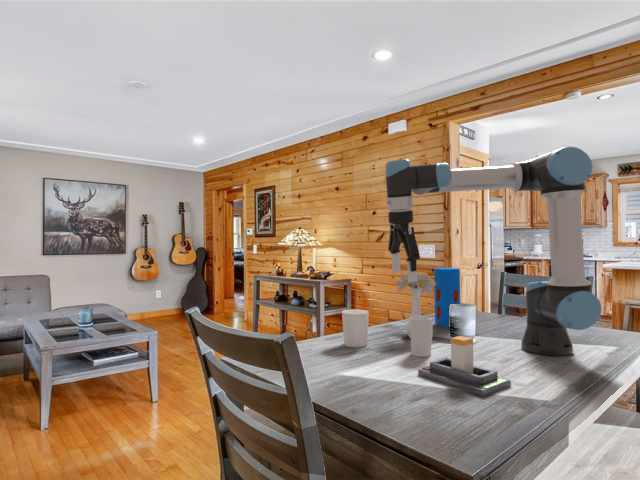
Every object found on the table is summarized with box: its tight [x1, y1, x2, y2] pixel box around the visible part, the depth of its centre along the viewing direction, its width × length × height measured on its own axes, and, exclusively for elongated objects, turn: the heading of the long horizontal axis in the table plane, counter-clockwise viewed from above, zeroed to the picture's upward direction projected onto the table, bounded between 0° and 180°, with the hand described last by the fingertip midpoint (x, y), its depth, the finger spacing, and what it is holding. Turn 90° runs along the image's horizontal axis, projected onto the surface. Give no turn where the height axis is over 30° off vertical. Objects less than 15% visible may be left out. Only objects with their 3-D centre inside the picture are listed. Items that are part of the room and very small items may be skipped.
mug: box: [409, 315, 434, 358], centre depth 134 cm, size 10×7×12 cm, turn 131°
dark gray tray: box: [417, 357, 512, 398], centre depth 108 cm, size 20×12×4 cm, turn 35°
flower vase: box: [395, 273, 436, 339], centre depth 158 cm, size 13×18×25 cm
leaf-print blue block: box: [433, 267, 461, 329], centre depth 178 cm, size 11×11×25 cm
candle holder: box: [341, 308, 370, 349], centre depth 146 cm, size 10×10×12 cm
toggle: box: [450, 335, 474, 374], centre depth 108 cm, size 4×4×9 cm
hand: (404, 277), depth 129 cm, fingers open, 13 cm apart
